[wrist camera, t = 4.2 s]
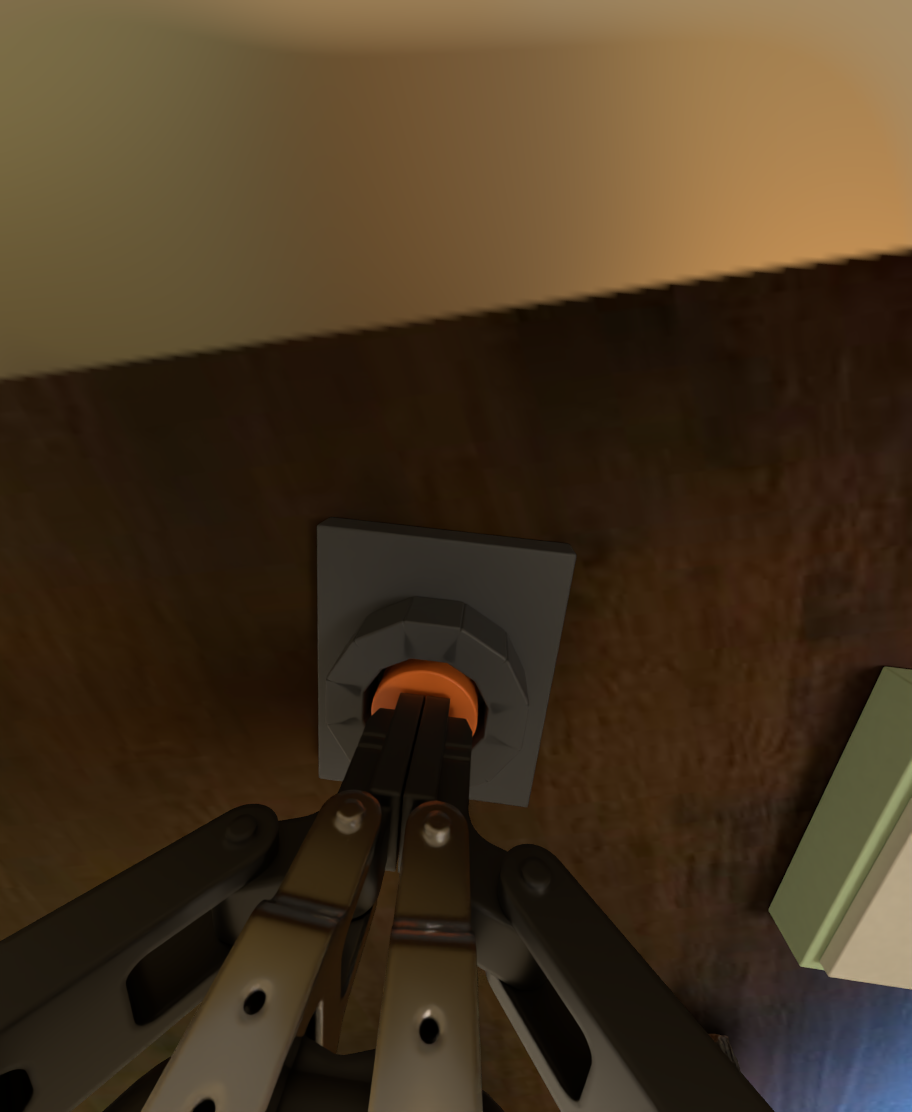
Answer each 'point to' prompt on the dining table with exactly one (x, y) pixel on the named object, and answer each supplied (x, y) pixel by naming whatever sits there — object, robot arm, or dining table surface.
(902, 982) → the scale
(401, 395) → the dining table surface
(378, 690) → the button
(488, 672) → the block
